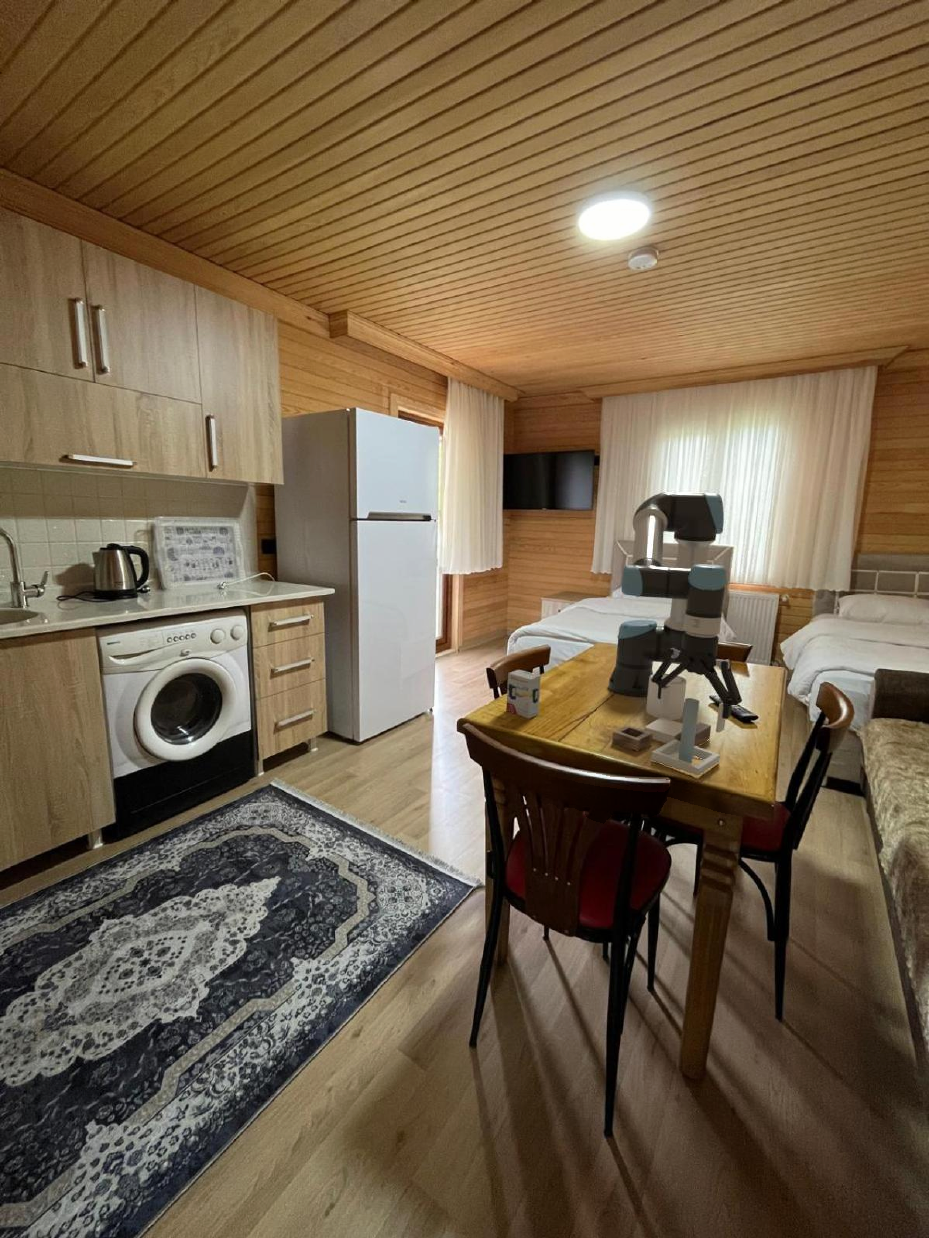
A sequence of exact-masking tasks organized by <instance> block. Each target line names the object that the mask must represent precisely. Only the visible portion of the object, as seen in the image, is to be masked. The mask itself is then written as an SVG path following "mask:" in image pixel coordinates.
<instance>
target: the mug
mask: <svg viewBox="0 0 929 1238" xmlns="http://www.w3.org/2000/svg"><path fill="white" fill-rule="evenodd" d="M654 674H655V673H653V674H652V675H650V676H649V686H648V696H646V697H647V698H646V706H645V711H646V713H647V715H650V716H652V717H655V718H657V719H659V718H660V717H661V718H665V719H668V720H672V721H675V720H680V719H683V715H684V706H685V699H686V692H687V691H686V690H687V689H686V688H687V679H686V678H684V677H682V676H680V675H678V676H677V677H676V678H674V679H673V680H672V681H671V682H669V683H668V684H667V685H666V686H670V693H669V702H668V711H667V712H666V713H664V714H659V709H660V700H661V699H658V685H657V684H656V683H653V682H652V681H651V679H652V677H653V676H654ZM668 674H669V673H665V674H664V675H663V677H662V678H661V679H664V678H665V677H666V676H667V675H668Z"/></svg>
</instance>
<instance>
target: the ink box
mask: <svg viewBox="0 0 929 1238" xmlns="http://www.w3.org/2000/svg"><path fill="white" fill-rule="evenodd" d="M506 688H507V689H506V706H505V708H506V710H507V712H508V711H509V713H511V712H513V713H512V714H514V713H515V714H514V715H517V716H520V715H521V717H524V718H526V719H531V718H533V717H536V716H538V715H539V711H540V708H539V707H540V691H541V676H540V675H539V674H536V673H532V672H529V671H526V670H521V669H516V670H514V671H511V672H508V673H507V687H506ZM506 710H505V711H506Z"/></svg>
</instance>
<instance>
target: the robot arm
mask: <svg viewBox="0 0 929 1238" xmlns="http://www.w3.org/2000/svg"><path fill="white" fill-rule="evenodd" d="M724 517H725V515H724V503H723V499H722V496H721V494H719V493H717V492H715V493H714V492H705V491H704V492H703V491H702V492H701V491H697V492H696V491H694V492H692V491H691V492H689V491H688V492H687V491H686V492H684V491H683V492H682V491H681V492H673V491H664V492H660V493H657V494H654V495H652V496H651V497H649V498H647V499H646V500H645V501H643V502H642V503H641V504H640V505H639V506H638V508H637V509H636V511H635V512H634V515H633V519H632V528H633V530H634V541H633V551H632V559H631V565H625V566H624V567H623V569H622V578H621V593H622V594H623V595H625V596H631V597H632V596H633V597H636V598H640V597H641V598H657V599H658V598H661V599H671V604H670V605H671V606H670V612H669V613H670V614H669V616H668V618H666V619H665V620H664V623H663V626H661V625H660V626H659V625H658V623H657V621H656V620H651V619H634V620H628V621H627V620H626V621H624V622H623V623H621V624H620V625H619V627H618V634H617V649H616V657H615V666H614V668H613V671H612V673H611V674H610V677H609V680H608V686H607V687H608V689H609V690H610V691H612V692H614V693H617V694H618V695H619V694H620V695H624V696H631V697H640V698H642V697H647V696H648V686H649V676H650V675H652V674H654V676H653V677H652V679H651V681H652V682H653V683H656V684H657V685H658V699H661V700H660V709H659V714H664V713H666V712H667V711H668V702H669V693H670V686H666V685H667V684H668V683H669V682H671V681H672V680H673V679H674V678H676V677H677V676H680V674H682V673H683V672H684V671H685V670H686V671H687V673H694V674H696V675H698V676H702V675H703V676H704V677H705V679H706V680H708V682H709V684H710V685H711V686H712V688H713V689H714V691H715V693H716V694H717V696H718V698H719V699H720V700H721V703H719V705H718V711H717V712H718V713H717V720H716V725H715V727H716V728H715V732H716V733H721V732H723V731H724V730H725V727H726V720H728V719H729V718H730V717H731V714H732V706H738V705H739V704H741V703H742V701H743V699H742V697H741V693H740V690H739V688H738V684H737V682H736V679H735V676H734V674H733V671H732V661H731V659H729V658H728V659H718V656H717V655H718V654H717V653H718V649H719V641H720V639H719V638H720V637H719V636H718V635H719V634H720V631H721V622H722V616H723V615H722V614H723V606H724V605H723V604H724V598H725V591H726V586H727V585H728V584H727V582H728V581H727V572H728V570H727V568H726V567H725V566H723V565H717V564H709V563H708V555H709V550H710V549H709V548H710V546H711V544H713V543H714V542H715V541H716V539H717V535H720V534H722V533H723V531H724V524H725V523H724V522H725V521H724V520H725V519H724ZM665 532H667V533H673V539H674V540H675V541H676V542H677V545H678V546H677V553H676V562H675V563H676V564H675V567H668V566H667V567H665V566H664V567H663V557H664V533H665ZM654 662H656V663H661V664H660V665H659V667H658V668H657V670H656V671H655V673H654V672H653V665H654ZM672 664H674V665H675V664H676V665H678V666H676V668H674V669H673V670H672V671H671V672H670V673H667V674H668V675H667V676H666V677H665V678H664V679H661V678H662V677H663V675H664V674H666V672H667V671H668V669H670V667H671V665H672ZM716 666H718V669H719V670H720V671H721V676H722V680H723V681H724V682H723V681H722V680H721V679H720V677H719V675H718V672H717V671H716V669H715V667H716Z"/></svg>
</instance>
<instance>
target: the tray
mask: <svg viewBox="0 0 929 1238" xmlns="http://www.w3.org/2000/svg"><path fill="white" fill-rule="evenodd" d="M679 750H680V741H679V740H676V739H674V740H672V741H670V742H669V743H667V744H666V743H664V744H663V745H662V746H660V747H657V748H656V749H654V750H652V751H651V759H650V761H651V760H653V761H656V762H658V763H662V764H664V765H666V766H669V767H674V768H676V769H679V770H684V771H686V772H689V773H693V774H695V775H700V774H701V773H703V772H704V771H705V770H707V769H708V768H710V767H711V766H713V765H714V764H716V763H718V762H719V763H720V759H721V754H720V753H717V752H714V751H710V750H708V749H705V748H702V747H700V746H699V747H696V746H694V750H693V756H697V757H699V758H698V759H697V758H695V757H693V758H692V760H703V759H705V760H703V761H702V762H698V763H699V764H697V765H694V764H691V763H688V762H686V761H683V760H680V759H678V758H679ZM677 756H678V757H677ZM700 758H702V759H700Z"/></svg>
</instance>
